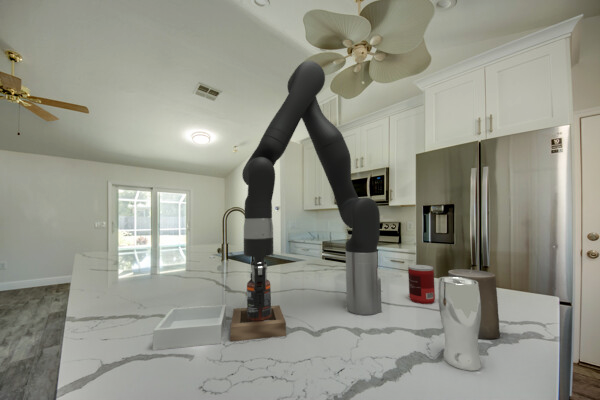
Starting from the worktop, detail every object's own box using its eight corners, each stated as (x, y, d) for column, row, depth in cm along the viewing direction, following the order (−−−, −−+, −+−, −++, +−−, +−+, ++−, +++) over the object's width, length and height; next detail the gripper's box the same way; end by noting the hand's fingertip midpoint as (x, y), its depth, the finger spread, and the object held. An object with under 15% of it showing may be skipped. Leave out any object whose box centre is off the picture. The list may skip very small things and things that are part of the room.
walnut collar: (279, 316, 72) (279, 305, 72) (285, 335, 60) (285, 322, 60) (233, 320, 69) (233, 308, 70) (230, 341, 57) (230, 327, 57)
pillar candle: (503, 330, 62) (498, 266, 63) (496, 344, 55) (490, 272, 56) (457, 320, 69) (454, 262, 70) (446, 331, 62) (442, 267, 63)
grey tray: (225, 319, 70) (226, 304, 70) (220, 343, 56) (221, 324, 57) (171, 324, 67) (171, 308, 67) (152, 350, 54) (153, 330, 54)
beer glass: (433, 353, 52) (429, 276, 53) (465, 351, 52) (461, 276, 53) (457, 373, 45) (452, 285, 46) (494, 371, 45) (489, 284, 47)
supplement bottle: (274, 314, 67) (273, 270, 68) (266, 323, 61) (266, 275, 62) (252, 313, 68) (252, 269, 69) (243, 322, 62) (242, 274, 63)
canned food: (436, 299, 86) (434, 265, 87) (433, 306, 80) (432, 269, 81) (411, 295, 91) (410, 263, 91) (407, 301, 84) (406, 267, 85)
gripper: (276, 237, 60) (277, 312, 59) (270, 234, 74) (271, 294, 73) (243, 238, 58) (243, 315, 57) (243, 235, 73) (244, 296, 71)
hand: (259, 303), depth 65 cm, fingers closed on supplement bottle, 6 cm apart
